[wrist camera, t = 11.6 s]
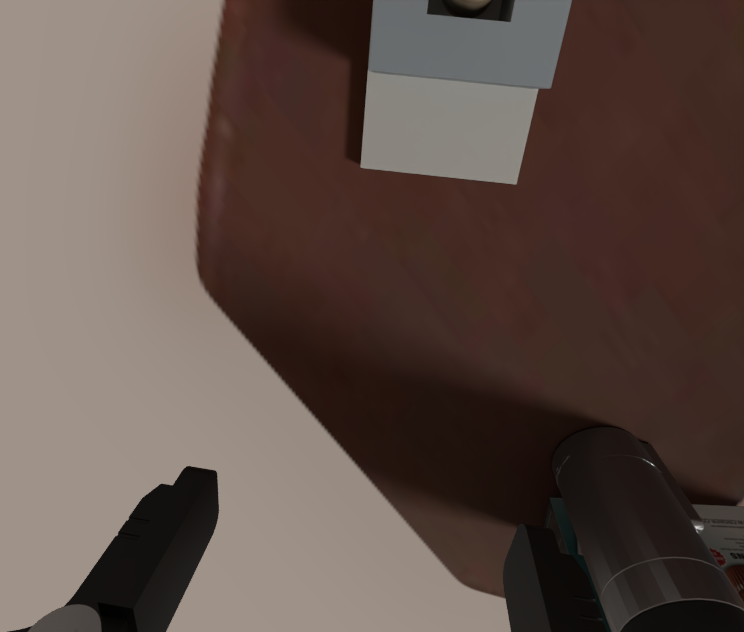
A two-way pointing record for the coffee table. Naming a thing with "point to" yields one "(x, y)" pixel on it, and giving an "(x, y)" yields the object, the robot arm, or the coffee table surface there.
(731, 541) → the cake mix box
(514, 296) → the coffee table surface
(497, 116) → the socket
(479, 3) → the peg
